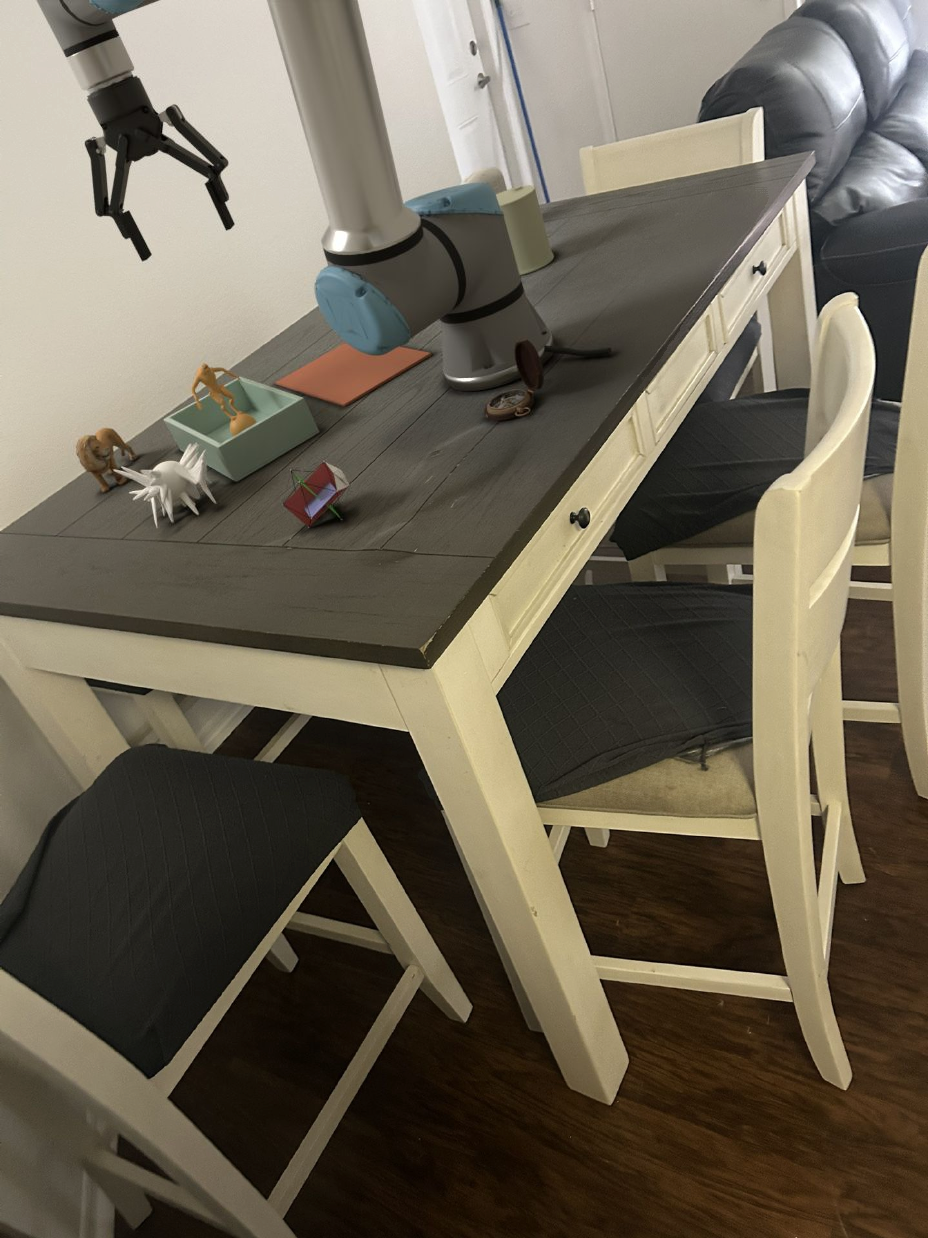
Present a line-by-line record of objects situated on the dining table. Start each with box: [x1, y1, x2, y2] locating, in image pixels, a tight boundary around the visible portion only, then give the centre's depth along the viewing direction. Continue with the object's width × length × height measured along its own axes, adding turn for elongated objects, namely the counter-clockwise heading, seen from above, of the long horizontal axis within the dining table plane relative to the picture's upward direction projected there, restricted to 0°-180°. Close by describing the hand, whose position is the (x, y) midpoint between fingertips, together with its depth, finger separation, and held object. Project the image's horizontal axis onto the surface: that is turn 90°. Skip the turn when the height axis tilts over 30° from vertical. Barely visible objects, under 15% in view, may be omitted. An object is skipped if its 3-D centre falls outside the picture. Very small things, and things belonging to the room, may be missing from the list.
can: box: [496, 184, 555, 276], centre depth 154 cm, size 9×9×12 cm
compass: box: [484, 339, 545, 421], centre depth 110 cm, size 8×8×7 cm
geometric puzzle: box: [281, 460, 351, 529], centre depth 104 cm, size 7×7×8 cm
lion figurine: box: [75, 427, 138, 493], centre depth 137 cm, size 15×5×9 cm, turn 13°
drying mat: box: [275, 341, 432, 408], centre depth 144 cm, size 24×16×1 cm, turn 36°
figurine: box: [190, 363, 257, 436], centre depth 131 cm, size 8×6×12 cm
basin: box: [163, 376, 320, 483], centre depth 133 cm, size 23×14×5 cm, turn 36°
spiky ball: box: [114, 443, 218, 529], centre depth 118 cm, size 11×12×8 cm
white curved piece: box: [459, 166, 508, 194], centre depth 174 cm, size 10×4×12 cm, turn 134°
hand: (188, 243), depth 134 cm, fingers open, 13 cm apart
